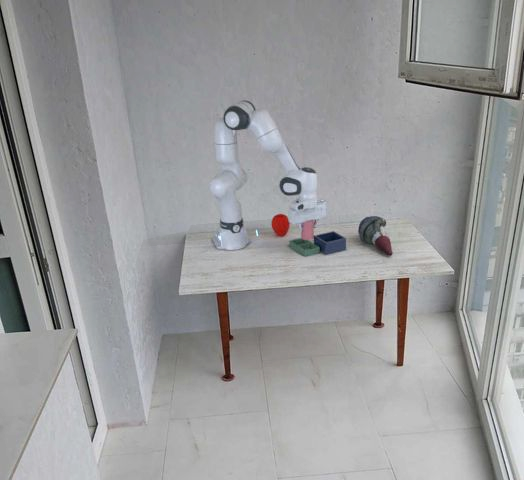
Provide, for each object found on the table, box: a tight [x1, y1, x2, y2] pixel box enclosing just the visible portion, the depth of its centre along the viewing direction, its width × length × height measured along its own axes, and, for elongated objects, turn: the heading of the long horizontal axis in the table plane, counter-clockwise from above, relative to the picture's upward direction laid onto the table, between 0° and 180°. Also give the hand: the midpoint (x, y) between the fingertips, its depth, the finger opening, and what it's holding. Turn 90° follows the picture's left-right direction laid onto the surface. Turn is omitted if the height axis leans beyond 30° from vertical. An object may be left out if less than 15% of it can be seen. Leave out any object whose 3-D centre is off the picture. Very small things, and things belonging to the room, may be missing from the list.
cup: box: [300, 220, 315, 241], centre depth 281 cm, size 6×6×10 cm
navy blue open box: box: [313, 230, 347, 256], centre depth 288 cm, size 12×12×6 cm
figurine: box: [357, 215, 394, 257], centre depth 288 cm, size 29×17×15 cm
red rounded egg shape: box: [270, 213, 291, 238], centre depth 305 cm, size 10×10×12 cm
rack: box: [289, 237, 321, 257], centre depth 290 cm, size 16×8×3 cm, turn 26°
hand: (307, 229), depth 281 cm, fingers closed on cup, 6 cm apart
